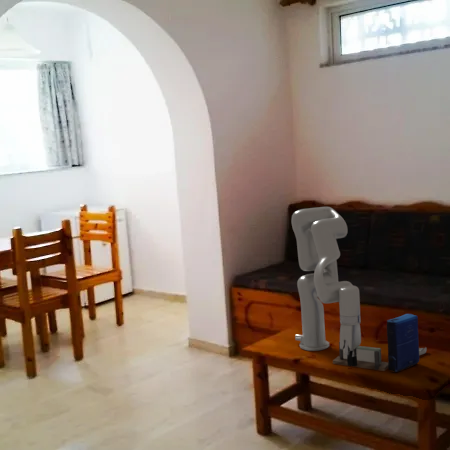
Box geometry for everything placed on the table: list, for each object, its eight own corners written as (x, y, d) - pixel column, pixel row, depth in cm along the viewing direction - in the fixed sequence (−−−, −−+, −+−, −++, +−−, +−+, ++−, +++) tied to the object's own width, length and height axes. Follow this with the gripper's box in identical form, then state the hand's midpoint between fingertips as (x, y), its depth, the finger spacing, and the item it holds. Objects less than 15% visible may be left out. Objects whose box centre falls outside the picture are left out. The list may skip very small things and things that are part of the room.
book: (396, 374, 233) (394, 322, 231) (385, 371, 237) (383, 319, 235) (421, 364, 241) (419, 313, 239) (409, 361, 246) (408, 311, 243)
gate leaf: (343, 358, 249) (342, 344, 248) (344, 357, 250) (344, 343, 249) (380, 363, 240) (379, 349, 240) (381, 362, 242) (380, 348, 241)
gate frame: (332, 363, 249) (331, 344, 248) (338, 358, 254) (337, 339, 253) (384, 371, 237) (383, 350, 236) (389, 365, 242) (389, 345, 241)
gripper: (348, 312, 244) (350, 358, 247) (332, 323, 232) (335, 371, 234) (367, 314, 240) (369, 360, 243) (352, 325, 228) (354, 373, 230)
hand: (352, 365), depth 238 cm, fingers closed
